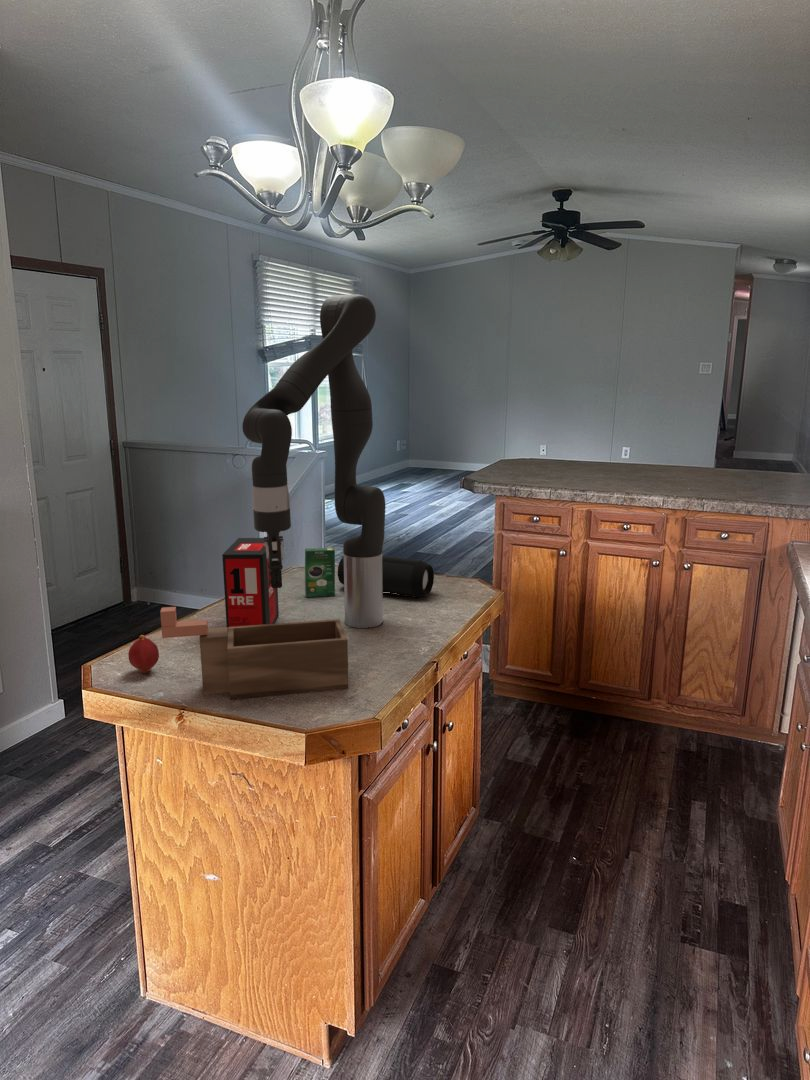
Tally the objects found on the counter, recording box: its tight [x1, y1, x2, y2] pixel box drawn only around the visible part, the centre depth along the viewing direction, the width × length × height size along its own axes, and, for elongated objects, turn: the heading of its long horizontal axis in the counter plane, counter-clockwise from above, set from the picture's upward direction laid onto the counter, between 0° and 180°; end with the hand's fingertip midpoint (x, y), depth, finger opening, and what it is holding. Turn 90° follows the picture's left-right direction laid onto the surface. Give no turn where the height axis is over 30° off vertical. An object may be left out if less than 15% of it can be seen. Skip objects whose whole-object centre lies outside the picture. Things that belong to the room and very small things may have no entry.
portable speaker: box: [337, 555, 435, 598], centre depth 200 cm, size 26×10×10 cm, turn 65°
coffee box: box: [304, 547, 336, 598], centre depth 196 cm, size 8×3×13 cm, turn 102°
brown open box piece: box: [199, 618, 349, 701], centre depth 141 cm, size 12×27×11 cm, turn 102°
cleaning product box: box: [221, 537, 280, 627], centre depth 171 cm, size 16×9×20 cm, turn 0°
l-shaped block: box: [159, 606, 209, 639], centre depth 136 cm, size 3×8×5 cm, turn 102°
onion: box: [128, 634, 160, 674], centre depth 147 cm, size 6×6×8 cm
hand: (276, 581), depth 155 cm, fingers open, 8 cm apart
